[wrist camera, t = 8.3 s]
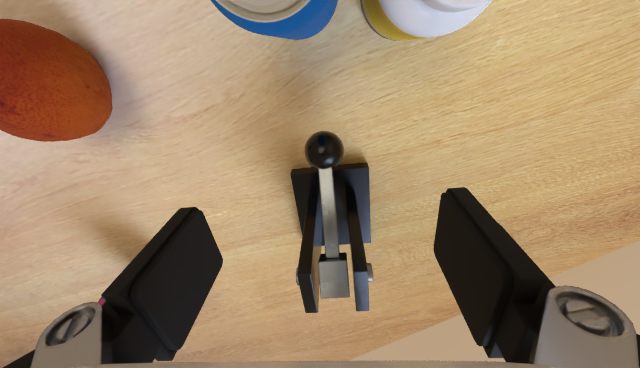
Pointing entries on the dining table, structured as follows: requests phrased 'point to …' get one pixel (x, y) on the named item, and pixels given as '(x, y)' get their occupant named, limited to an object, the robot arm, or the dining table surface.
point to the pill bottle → (420, 17)
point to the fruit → (49, 85)
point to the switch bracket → (350, 224)
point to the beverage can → (279, 16)
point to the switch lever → (329, 214)
